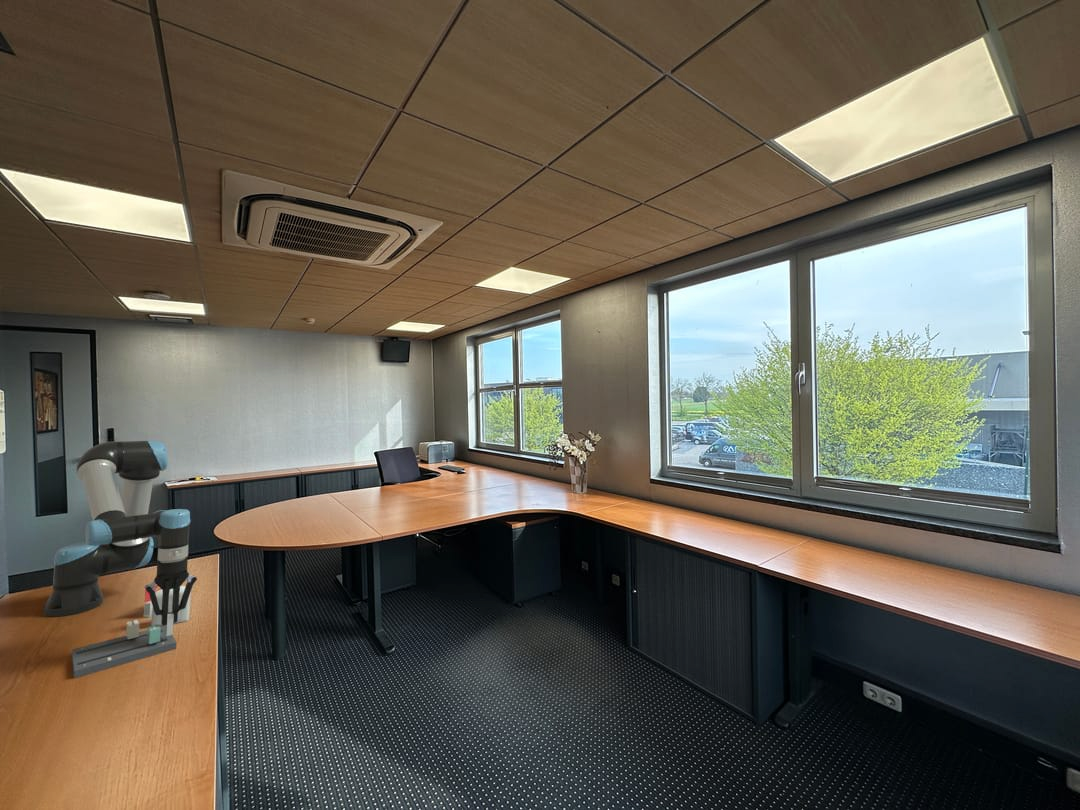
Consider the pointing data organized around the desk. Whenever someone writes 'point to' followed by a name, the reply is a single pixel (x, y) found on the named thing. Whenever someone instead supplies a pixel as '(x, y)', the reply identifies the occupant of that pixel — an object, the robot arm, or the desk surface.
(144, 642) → the console
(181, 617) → the photo printer
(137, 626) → the ivory fader
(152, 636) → the teal fader
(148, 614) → the ink cartridge box
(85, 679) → the desk surface
